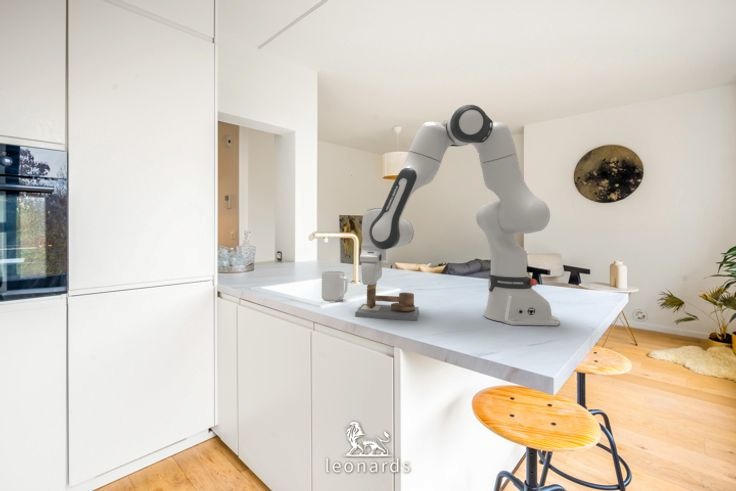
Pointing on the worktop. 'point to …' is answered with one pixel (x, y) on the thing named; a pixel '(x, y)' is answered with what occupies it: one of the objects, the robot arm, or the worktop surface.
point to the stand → (386, 312)
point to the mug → (333, 285)
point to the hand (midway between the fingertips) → (372, 293)
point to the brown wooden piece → (391, 300)
